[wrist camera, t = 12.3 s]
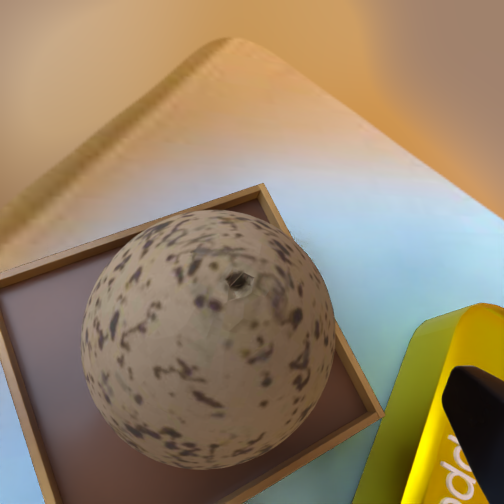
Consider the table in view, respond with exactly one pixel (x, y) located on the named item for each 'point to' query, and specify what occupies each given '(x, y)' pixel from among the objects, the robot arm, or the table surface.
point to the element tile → (431, 413)
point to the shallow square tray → (90, 419)
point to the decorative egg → (208, 339)
